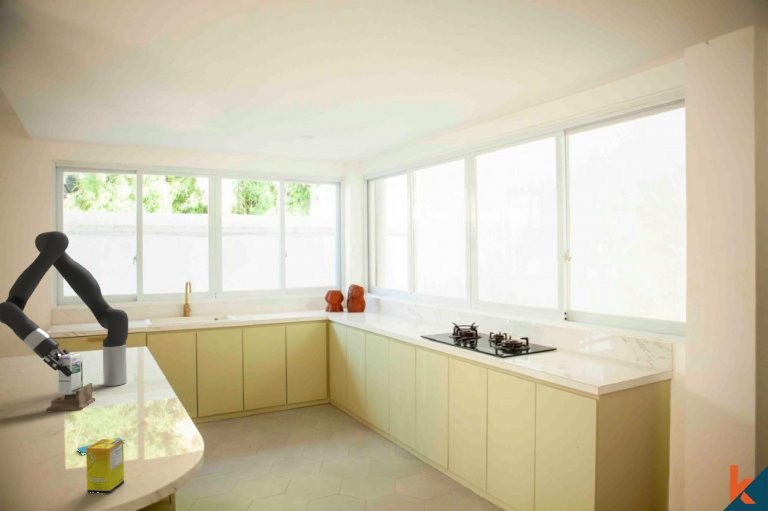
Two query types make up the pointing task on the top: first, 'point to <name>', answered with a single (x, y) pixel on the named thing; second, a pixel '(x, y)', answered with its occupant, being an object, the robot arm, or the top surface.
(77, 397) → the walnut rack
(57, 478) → the top surface
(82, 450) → the sponge
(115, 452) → the supplement box
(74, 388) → the syrup box
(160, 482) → the top surface
